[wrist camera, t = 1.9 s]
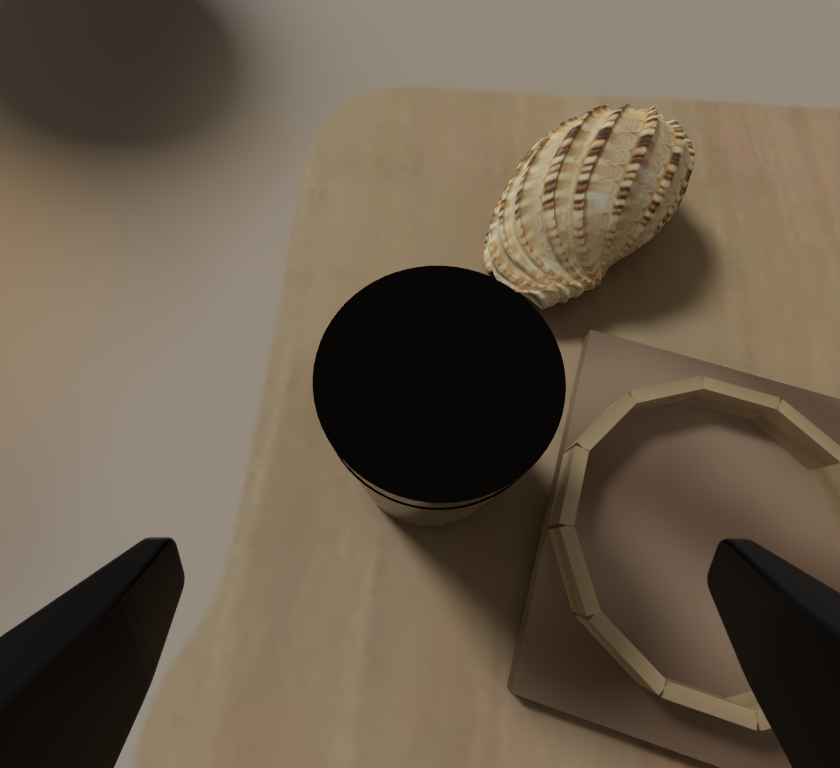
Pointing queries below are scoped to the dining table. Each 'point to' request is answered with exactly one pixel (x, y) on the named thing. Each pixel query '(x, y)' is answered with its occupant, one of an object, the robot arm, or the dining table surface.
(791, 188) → the dining table surface
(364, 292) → the supplement container
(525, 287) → the seashell
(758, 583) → the robot arm
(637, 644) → the collar board
